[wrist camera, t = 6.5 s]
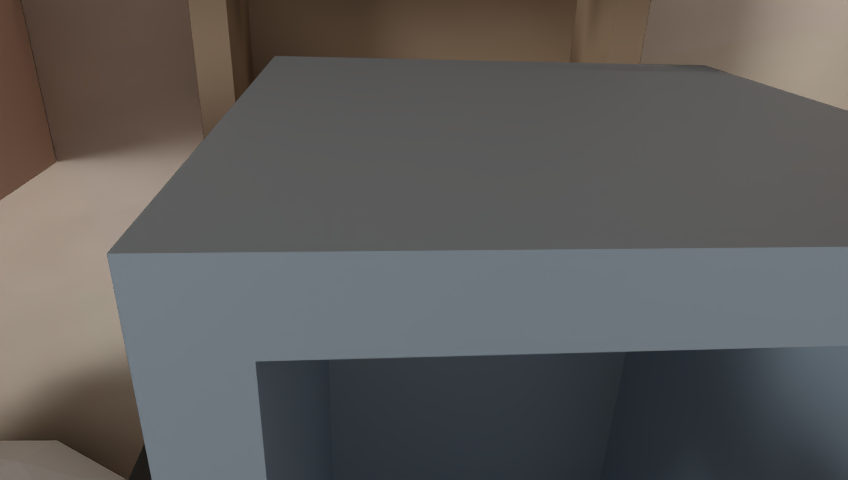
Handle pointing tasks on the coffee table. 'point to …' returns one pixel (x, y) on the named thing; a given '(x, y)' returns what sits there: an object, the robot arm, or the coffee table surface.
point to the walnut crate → (401, 35)
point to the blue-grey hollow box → (496, 278)
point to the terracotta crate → (20, 105)
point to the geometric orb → (48, 462)
